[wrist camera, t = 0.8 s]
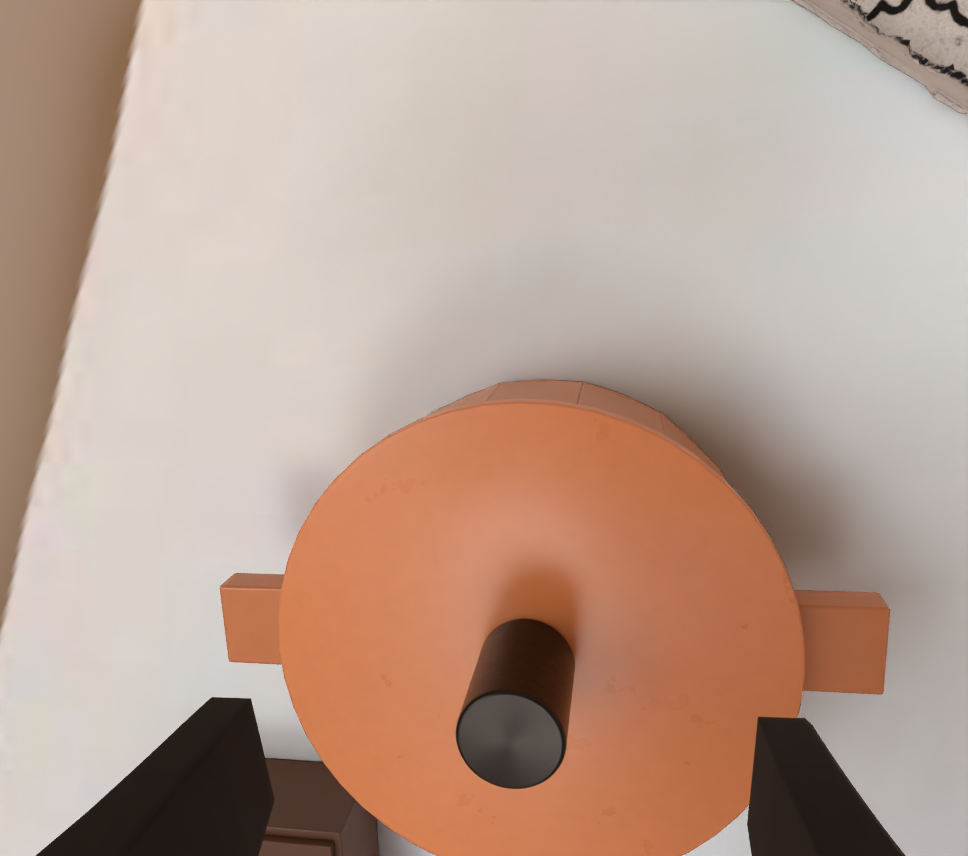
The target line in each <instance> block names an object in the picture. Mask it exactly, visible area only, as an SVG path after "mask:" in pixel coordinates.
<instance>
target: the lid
mask: <svg viewBox="0 0 968 856" xmlns="http://www.w3.org/2000/svg"><path fill="white" fill-rule="evenodd" d="M278 627H279V650H280V655H281V661H282V667H283V672H284V678H285V681H286V684H287V688H288V691H289V694H290V697H291V700H292V704H293V707H294V709H295V711H296V713H297V716H298V718H299V720H300V722H301V724H302V727H303V729H304V731H305V733H306V735H307V737H308V739H309V740H310V742H311V743H312V745H313V747H314V748H315V750H316V752H317V753H318V755H319V757H320V758H321V760H322V761H323V763H324V764H325V765H326V766H327V768H328V769H329V770H330V771H331V773H332V774H333V775H334V777H335V778H336V779H337V780H338V782H339V783H340V784H341V785H342V786H343V787H344V788H345V789H346V791H347V792H348V793H349V794H350V795H351V796H352V797H353V798H354V799H355V800H356V801H357V802H358V803H359V804H360V805H361V806H362V807H363V808H365V809H366V810H367V811H368V812H369V813H371V814H372V815H373V816H374V817H376V818H377V819H378V820H379V821H381V822H382V823H383V824H384V825H385V826H387V827H388V828H390V829H391V830H393V831H394V832H396V833H397V834H399V835H400V836H402V837H403V838H405V839H407V840H408V841H410V842H411V843H413V844H414V845H416V846H418V847H420V848H422V849H424V850H426V851H428V852H430V853H432V854H434V855H436V856H682V855H684V854H686V853H688V852H690V851H692V850H693V849H695V848H696V847H698V846H699V845H701V844H703V843H704V842H706V841H707V840H709V839H711V838H712V837H714V836H715V835H716V834H718V833H719V832H720V831H721V830H722V829H724V828H725V827H726V826H727V825H728V824H730V823H731V822H732V821H733V820H734V819H735V818H737V817H738V816H739V815H740V814H741V813H742V812H743V811H744V810H745V808H746V807H747V806H748V805H749V802H750V792H751V782H752V772H753V762H754V751H755V741H756V731H757V721H758V717H781V718H797V716H798V713H799V709H800V706H801V699H802V692H803V684H804V677H805V647H804V634H803V629H802V623H801V617H800V611H799V606H798V602H797V599H796V596H795V593H794V590H793V587H792V584H791V581H790V578H789V575H788V572H787V570H786V568H785V566H784V564H783V562H782V560H781V558H780V556H779V554H778V552H777V550H776V548H775V546H774V544H773V542H772V540H771V538H770V536H769V534H768V533H767V531H766V530H765V529H764V527H763V526H762V524H761V523H760V521H759V520H758V518H757V517H756V515H755V514H754V513H753V511H752V510H751V508H750V507H749V505H748V504H747V503H746V502H745V501H744V500H743V499H742V498H741V497H740V495H739V494H738V493H737V492H736V491H735V490H734V489H733V488H732V487H731V486H730V484H729V483H728V482H727V481H726V480H725V479H724V478H723V477H722V476H721V475H719V474H718V473H717V472H716V471H715V470H713V469H712V468H711V467H710V466H709V465H707V464H706V463H705V462H704V461H703V460H701V459H700V458H699V457H698V456H697V455H695V454H694V453H692V452H691V451H689V450H688V449H686V448H684V447H683V446H681V445H680V444H678V443H677V442H675V441H673V440H672V439H670V438H669V437H667V436H666V435H664V434H662V433H660V432H658V431H656V430H653V429H651V428H649V427H647V426H645V425H643V424H641V423H638V422H636V421H634V420H632V419H630V418H627V417H624V416H621V415H617V414H614V413H611V412H608V411H605V410H602V409H599V408H596V407H591V406H586V405H580V404H575V403H570V402H564V401H559V400H543V399H525V398H519V399H505V400H491V401H483V402H478V403H473V404H468V405H464V406H459V407H454V408H450V409H447V410H444V411H441V412H439V413H436V414H433V415H430V416H427V417H424V418H422V419H419V420H417V421H415V422H413V423H411V424H409V425H407V426H405V427H403V428H401V429H399V430H397V431H395V432H393V433H392V434H390V435H388V436H387V437H385V438H384V439H382V440H381V441H380V442H378V443H377V444H375V445H374V446H372V447H371V448H370V449H368V450H367V451H365V452H364V453H363V454H361V455H360V456H359V457H358V458H357V459H356V460H355V461H354V462H353V463H352V464H350V465H349V466H348V467H347V468H346V469H345V470H344V471H343V472H342V473H341V474H340V475H339V476H338V477H337V478H336V479H335V480H334V481H333V482H332V483H331V485H330V486H329V487H328V488H327V490H326V491H325V492H324V493H323V495H322V496H321V497H320V498H319V500H318V501H317V502H316V504H315V505H314V507H313V508H312V510H311V512H310V514H309V515H308V517H307V519H306V520H305V522H304V524H303V526H302V527H301V529H300V531H299V533H298V536H297V538H296V541H295V543H294V546H293V548H292V551H291V553H290V556H289V558H288V562H287V566H286V570H285V574H284V578H283V582H282V587H281V594H280V605H279V615H278Z"/></svg>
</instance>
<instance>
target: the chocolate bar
mask: <svg viewBox="0 0 968 856" xmlns="http://www.w3.org/2000/svg"><path fill="white" fill-rule="evenodd" d="M265 761H266V765H267V769H268V773H269V777H270V782H271V786H272V790H273V794H274V799H275V800H274V804H273V807H272V811H271V814H270V818H269V821H268V825H267V828H266V832H265V836H264V839H263V842H262V845H261V849H260V852H259V855H258V856H379V849H378V837H377V825H376V817H374V816H373V815H372V814H371V813H369V812H368V811H367V810H366V809H365V808H363V807H362V806H361V805H360V804H359V803H358V802H357V801H356V800H355V799H354V798H353V797H352V796H351V795H350V794H349V793H348V792H347V791H346V789H345V788H344V787H343V786H342V785H341V784H340V783H339V782H338V780H337V779H336V778H335V777H334V775H333V774H332V773H331V771H330V770H329V769H328V768H327V766H326V765H325V764H324V763H320V762H306V761H292V760H277V759H265Z"/></svg>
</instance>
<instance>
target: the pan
mask: <svg viewBox="0 0 968 856" xmlns="http://www.w3.org/2000/svg"><path fill="white" fill-rule="evenodd" d="M519 398H525V399H543V400H559V401H564V402H570V403H575V404H580V405H586V406H591V407H596V408H599V409H602V410H605V411H608V412H611V413H614V414H617V415H621V416H624V417H627V418H630V419H632V420H634V421H636V422H638V423H641V424H643V425H645V426H647V427H649V428H651V429H653V430H656V431H658V432H660V433H662V434H664V435H666V436H667V437H669V438H670V439H672V440H673V441H675V442H677V443H678V444H680V445H681V446H683V447H684V448H686V449H688V450H689V451H691V452H692V453H694V454H695V455H697V456H698V457H699V458H700V459H701V460H703V461H704V462H705V463H706V464H707V465H709V466H710V467H711V468H712V469H713V470H715V471H716V472H717V473H718V474H719V475H721V476H722V477H723V474H722V472H721V470H719V468H718V466H717V465H716V464H715V463H713V462H712V461H711V460H710V459H709V458H708V457H707V456H706V455H705V454H704V452H703V451H702V450H701V449H700V448H699V447H698V446H697V445H696V444H695V443H694V441H693V440H692V439H691V438H690V437H689V436H688V435H686V434H685V433H684V432H683V431H682V430H680V429H679V428H678V427H677V426H676V425H675V424H673V423H672V422H671V421H670V420H669V419H668V418H667V417H666V416H664V415H663V414H661V413H660V412H659V411H657V410H654V409H652V408H650V407H648V406H646V405H644V404H642V403H640V402H638V401H636V400H634V399H632V398H629V397H627V396H625V395H623V394H620V393H617V392H614V391H611V390H608V389H605V388H602V387H599V386H595V385H591V384H588V383H583V382H581V381H576V382H573V381H563V380H544V379H543V380H530V381H517V382H503V383H498V384H496V385H494V386H491V387H489V388H487V389H484V390H481V391H478V392H475V393H473V394H470V395H467V396H465V397H463V398H461V399H459V400H457V401H455V402H453V403H452V404H450V405H447V406H445V407H443V408H440V409H438V410H436V411H433V412H431V413H430V414H429V415H427V416H430V415H433V414H436V413H439V412H441V411H444V410H447V409H450V408H454V407H459V406H464V405H468V404H473V403H478V402H483V401H491V400H505V399H519ZM427 416H426V417H427ZM723 478H724V477H723ZM283 578H284V575H281V574H248V573H235V574H233V575H232V576H231V577H230V578H229V579H228V580H227V581H225V582H224V583H223V584H222V585H221V586H220V594H221V602H222V610H223V618H224V626H225V634H226V642H227V650H228V658H229V661H230V662H244V663H264V664H282V661H281V655H280V650H279V627H278V615H279V605H280V594H281V587H282V582H283ZM794 593H795V596H796V599H797V602H798V606H799V611H800V617H801V623H802V629H803V634H804V647H805V677H804V684H803V691H821V692H841V693H861V694H883V692H884V680H885V668H886V655H887V643H888V631H889V618H890V609H889V607H888V606H887V604H886V603H885V601H884V600H883V599H882V597H881V596H880V594H879V593H876V592H844V591H811V590H794Z"/></svg>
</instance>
